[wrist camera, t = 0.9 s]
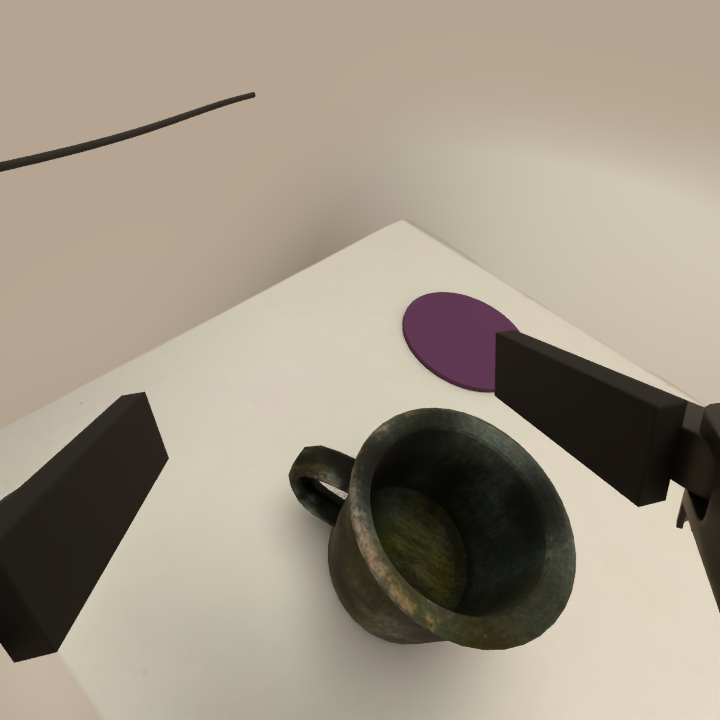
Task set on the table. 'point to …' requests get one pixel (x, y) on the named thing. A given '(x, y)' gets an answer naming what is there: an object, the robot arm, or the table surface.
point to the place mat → (455, 338)
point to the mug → (442, 532)
